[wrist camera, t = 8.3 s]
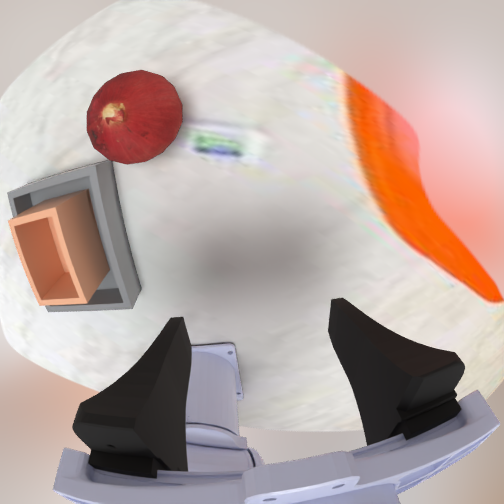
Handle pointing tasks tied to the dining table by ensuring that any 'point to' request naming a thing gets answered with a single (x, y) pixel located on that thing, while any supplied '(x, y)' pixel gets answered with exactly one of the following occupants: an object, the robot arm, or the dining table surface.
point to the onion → (134, 117)
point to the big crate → (109, 225)
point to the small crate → (61, 249)
